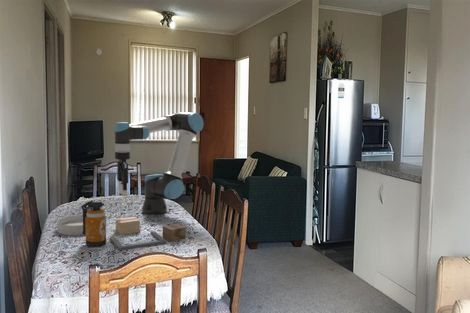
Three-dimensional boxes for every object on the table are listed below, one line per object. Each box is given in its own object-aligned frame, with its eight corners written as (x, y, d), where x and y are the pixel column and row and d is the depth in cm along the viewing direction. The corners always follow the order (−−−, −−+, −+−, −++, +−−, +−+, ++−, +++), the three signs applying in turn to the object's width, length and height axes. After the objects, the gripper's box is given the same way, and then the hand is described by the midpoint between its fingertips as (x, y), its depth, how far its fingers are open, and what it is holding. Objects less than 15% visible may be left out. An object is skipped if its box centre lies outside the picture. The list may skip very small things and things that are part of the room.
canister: (99, 247, 180) (99, 204, 178) (77, 245, 183) (76, 202, 180) (109, 241, 189) (109, 199, 187) (88, 239, 191) (87, 198, 189)
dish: (75, 238, 194) (75, 228, 194) (47, 230, 206) (47, 221, 205) (111, 227, 213) (111, 218, 212) (84, 221, 224) (84, 212, 224)
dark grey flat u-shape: (154, 233, 204) (154, 230, 204) (166, 243, 188) (166, 241, 188) (109, 238, 193) (109, 236, 193) (118, 250, 178) (118, 247, 177)
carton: (134, 227, 213) (134, 216, 213) (139, 231, 207) (139, 220, 206) (115, 230, 208) (115, 218, 207) (120, 234, 201) (120, 222, 200)
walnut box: (176, 235, 202) (176, 223, 201) (185, 239, 196) (185, 227, 195) (162, 238, 197) (162, 226, 196) (171, 242, 191) (171, 230, 190)
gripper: (111, 150, 218) (111, 191, 221) (119, 153, 201) (119, 198, 204) (125, 149, 222) (125, 190, 225) (134, 153, 205) (134, 197, 207)
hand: (122, 194), depth 214 cm, fingers open, 7 cm apart
